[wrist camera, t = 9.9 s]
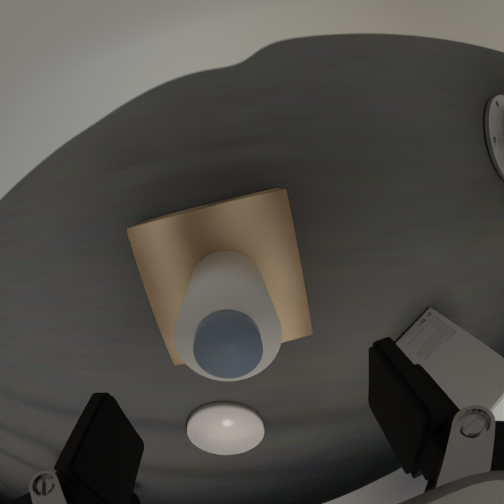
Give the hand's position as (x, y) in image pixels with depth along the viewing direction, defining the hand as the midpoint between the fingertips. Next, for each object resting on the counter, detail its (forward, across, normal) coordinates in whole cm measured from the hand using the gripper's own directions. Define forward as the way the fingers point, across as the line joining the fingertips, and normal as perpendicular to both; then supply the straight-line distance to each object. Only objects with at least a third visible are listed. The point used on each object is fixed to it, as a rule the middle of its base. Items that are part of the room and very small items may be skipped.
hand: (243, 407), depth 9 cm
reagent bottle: (+13, +1, 0) cm, 13 cm away
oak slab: (+17, +1, 0) cm, 17 cm away
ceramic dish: (+17, +6, +19) cm, 26 cm away
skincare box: (+18, -20, +15) cm, 31 cm away
